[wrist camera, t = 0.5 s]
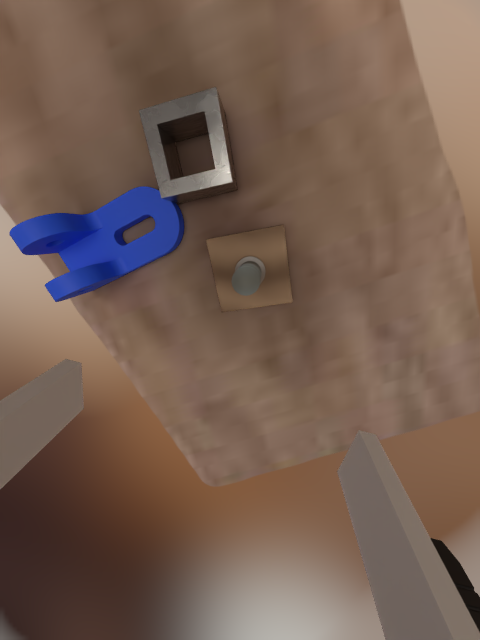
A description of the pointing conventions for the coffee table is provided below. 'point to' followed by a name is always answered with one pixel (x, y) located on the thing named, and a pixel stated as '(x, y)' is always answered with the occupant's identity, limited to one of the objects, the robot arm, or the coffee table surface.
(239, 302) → the peg stand
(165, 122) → the gray square frame
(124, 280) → the coffee table surface
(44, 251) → the bracket
